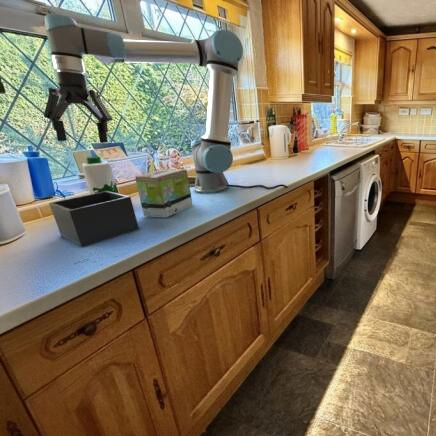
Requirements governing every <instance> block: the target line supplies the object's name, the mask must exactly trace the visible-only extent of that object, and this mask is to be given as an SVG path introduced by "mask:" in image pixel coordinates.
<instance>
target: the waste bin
mask: <svg viewBox="0 0 436 436" xmlns="http://www.w3.org/2000/svg"><path fill="white" fill-rule="evenodd" d="M118 193H119V192H118ZM118 193H114V192H110V191H104V192H100V193H95V194H90V193H89V194H86V195H82V196H76V197H70V198H67V199H62V200H57V201H51V202H48V203H49V206H50V210H51V212H52V215H53V218H54V220H55V223H56V227H57V229H58V231H59V234H60V236H61V237H62V238H64V239H66V240H67V241H70V242H71V243H73V244H75V245H77V246H79V247H81V248H83V247H86V246H89V245H92V244H96V243H99V242H102V241H105V240H108V239H111V238H114V237H118V236H121V235H124V234H127V233H130V232H133V231H136V230H140V228H139V224H138V220H137V216H136V212H135V209H134V205H133V201H132V198H131V196H130V195H125V194H123V193H119V194H118Z"/></svg>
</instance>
